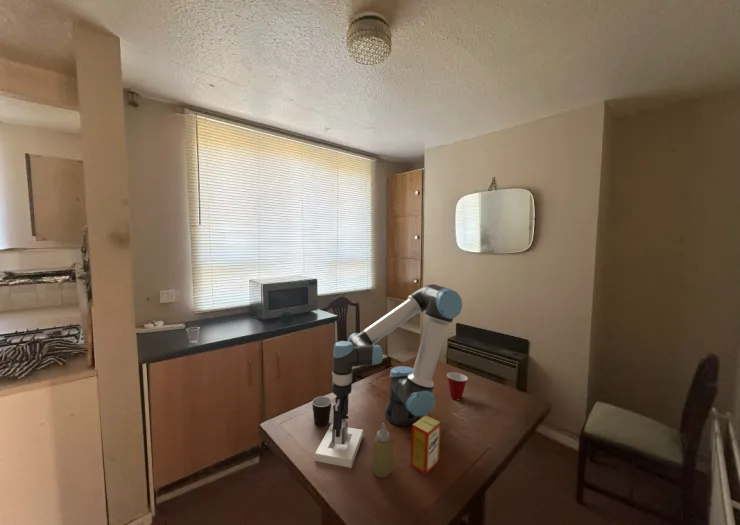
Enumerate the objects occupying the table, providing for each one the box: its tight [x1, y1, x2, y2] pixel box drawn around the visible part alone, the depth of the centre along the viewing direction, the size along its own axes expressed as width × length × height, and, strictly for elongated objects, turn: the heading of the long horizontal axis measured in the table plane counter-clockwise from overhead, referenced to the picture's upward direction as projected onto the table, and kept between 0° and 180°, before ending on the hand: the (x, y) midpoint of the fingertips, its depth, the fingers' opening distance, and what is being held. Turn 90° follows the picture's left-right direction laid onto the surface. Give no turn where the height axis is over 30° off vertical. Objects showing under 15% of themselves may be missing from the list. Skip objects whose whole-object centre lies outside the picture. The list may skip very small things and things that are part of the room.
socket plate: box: [314, 424, 364, 469], centre depth 119 cm, size 14×18×4 cm
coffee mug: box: [311, 395, 333, 428], centre depth 136 cm, size 12×9×10 cm
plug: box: [332, 420, 349, 445], centre depth 119 cm, size 5×4×7 cm
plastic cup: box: [446, 372, 468, 400], centre depth 161 cm, size 11×11×12 cm
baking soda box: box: [409, 414, 442, 476], centre depth 112 cm, size 10×6×16 cm
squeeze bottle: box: [370, 422, 394, 479], centre depth 107 cm, size 8×8×18 cm
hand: (340, 438), depth 119 cm, fingers closed on plug, 4 cm apart
